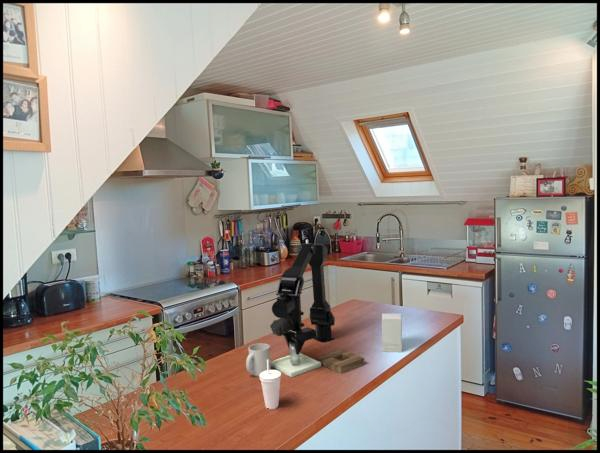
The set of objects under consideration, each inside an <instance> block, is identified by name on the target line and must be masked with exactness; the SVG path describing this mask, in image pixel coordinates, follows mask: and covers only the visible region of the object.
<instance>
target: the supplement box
mask: <svg viewBox="0 0 600 453" xmlns="http://www.w3.org/2000/svg"><path fill="white" fill-rule="evenodd" d="M402 321H403V320H402V314H401V313H381V347H382V348H381V350H382V352H388V353H389V352H390V353H402V352H403V334H402V331H403V328H402V326H403V322H402Z"/></svg>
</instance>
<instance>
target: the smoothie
mask: <svg viewBox="0 0 600 453" xmlns="http://www.w3.org/2000/svg"><path fill="white" fill-rule="evenodd" d="M258 377H259V380H260V383H261V389H262V394H263V395H262V396H263V399H264V406H265V408H266V409H267V408H269V409H268V410H275V409H277V408H278V407H279V401H280V400H279V398H280V388H281V387H280V386H281V379H282V372H280V371H278V370H276V369H271V370H269V360H268V359H267V370H266V371H263V372H261V373H260V375H259V376H258Z"/></svg>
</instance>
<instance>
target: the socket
mask: <svg viewBox="0 0 600 453" xmlns="http://www.w3.org/2000/svg"><path fill="white" fill-rule="evenodd" d="M319 362H321V366H323V367H324V368H327V369H330V370H332V371H333V372H336V373H339V374H340V375H341V374H345V373H347V372H349V371H351V370H354V369H357V368H359V367H361V366H364V365H365V357H363V356H360V355H358V354H355V353H353V352H351V351H348V350H345V349H342V348H341V349H338V350H336V351H333V352H331V353H328V354H325V355H321V356H319Z"/></svg>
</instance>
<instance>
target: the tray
mask: <svg viewBox="0 0 600 453" xmlns="http://www.w3.org/2000/svg"><path fill="white" fill-rule="evenodd" d="M270 363H271V369H273V370H277V371H280V372H281V374H283V375H286V376H287V377H290V378H293V377H296V376H299V375H302V374H305V373H307V372H309V371H314V370H316V369H319V368H321V367H322V365H321V362H320V360H316V359H314V358H312V357H310V356H308V355H305V354H303V353H301V352H300V363H298V364H291V363H290V354H289V355H286V356H283V357H280V358H277V359H275V360H274V359H273V360H270Z"/></svg>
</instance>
